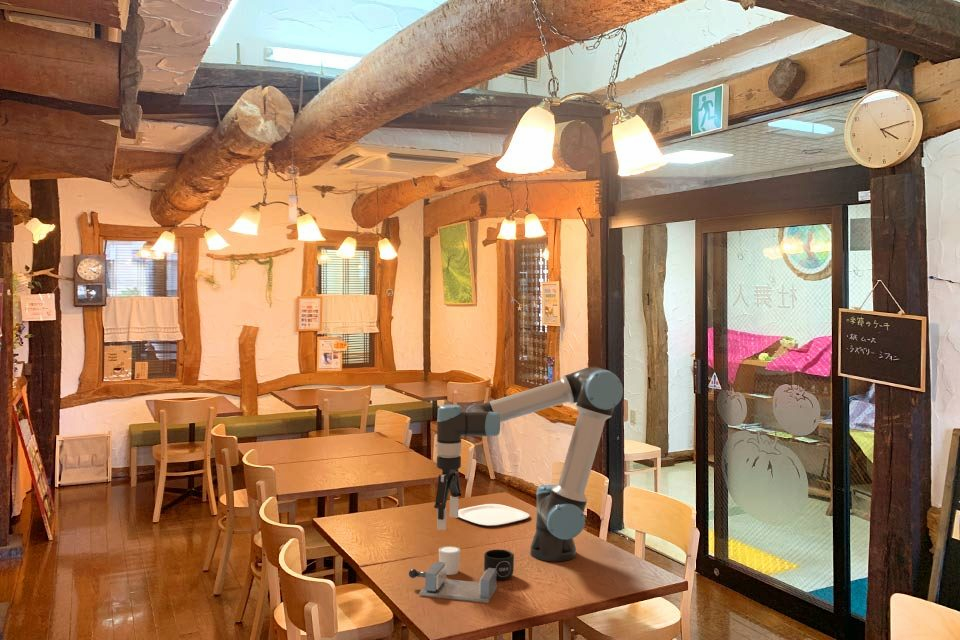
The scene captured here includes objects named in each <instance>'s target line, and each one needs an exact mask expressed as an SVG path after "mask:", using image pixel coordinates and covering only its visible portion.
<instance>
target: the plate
mask: <svg viewBox="0 0 960 640" xmlns="http://www.w3.org/2000/svg"><path fill="white" fill-rule="evenodd" d="M530 517H531V515H530V514H529V513H528V512H525V511H523V510H521V509H518V508H515V507H512V506H508V505H504V504H499V503H498V504H497V503H484V504H480V505H479V504H478V505H475V506H474V505H473V506H469V507H465V508H464V507H463V508H460V509H458V518H459V519H461V520H463V521H466V522H470V523H472V524H475V525H478V526H484V527H496V526H504V525H508V524H514V523H517V522H521V521H525V520H528V519H529V518H530Z"/></svg>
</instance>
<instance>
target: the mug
mask: <svg viewBox="0 0 960 640" xmlns="http://www.w3.org/2000/svg"><path fill="white" fill-rule="evenodd" d="M483 555H484V561H483V562H484V563H483V565H484V566H483V573H484V572H485V571H486V570H487V569H488V568H496V581H504V580H507V579H509V578H510V579H511V577H512V575H513V574H514V570H515V569H514V562H515V560H514V559H515V556H514V555H515V554H514V553H513V552H512V551H510V550H507V549H501V548H500V549H491V550H488V551H487V550H486V551H485V552H484V554H483Z"/></svg>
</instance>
